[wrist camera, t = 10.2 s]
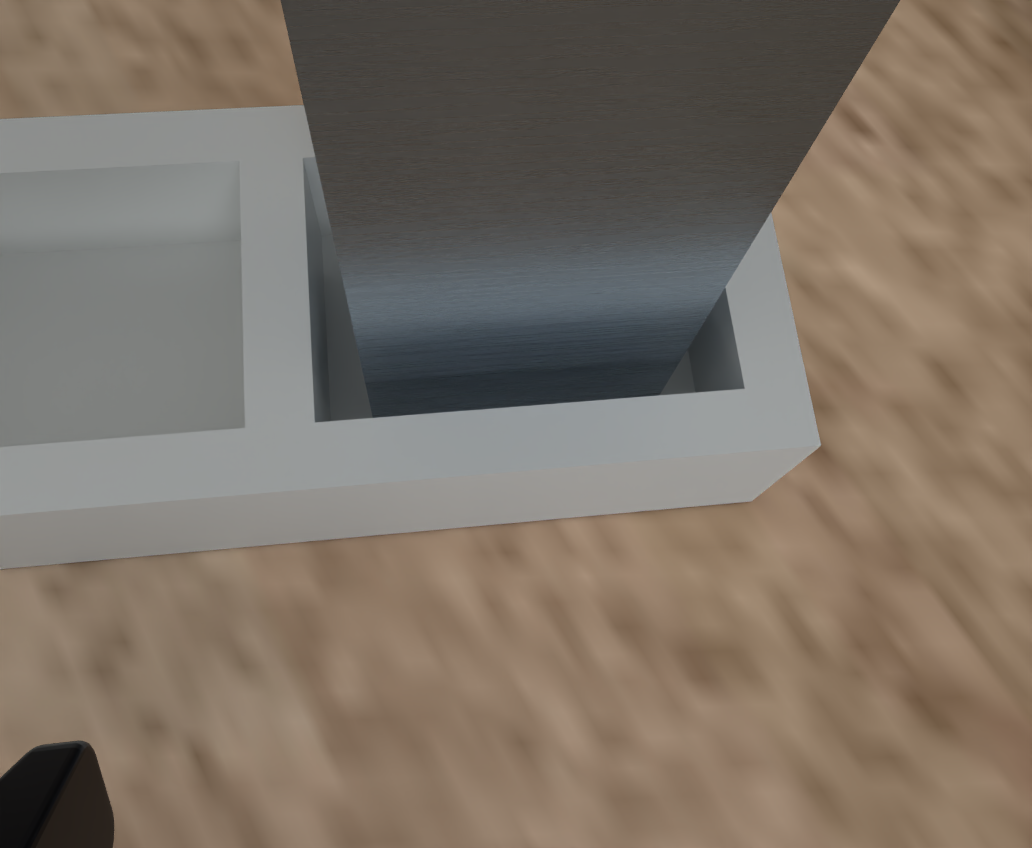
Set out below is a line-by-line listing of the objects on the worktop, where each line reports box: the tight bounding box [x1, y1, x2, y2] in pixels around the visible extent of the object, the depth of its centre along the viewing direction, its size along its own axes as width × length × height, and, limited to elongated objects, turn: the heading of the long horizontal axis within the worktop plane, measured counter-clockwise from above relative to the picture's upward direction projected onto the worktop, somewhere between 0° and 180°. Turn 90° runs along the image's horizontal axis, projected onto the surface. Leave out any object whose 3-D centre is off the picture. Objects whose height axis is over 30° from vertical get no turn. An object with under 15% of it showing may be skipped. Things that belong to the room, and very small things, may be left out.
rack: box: [0, 105, 821, 569], centre depth 15 cm, size 7×24×6 cm, turn 96°
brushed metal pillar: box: [281, 0, 900, 418], centre depth 11 cm, size 3×5×13 cm, turn 96°
